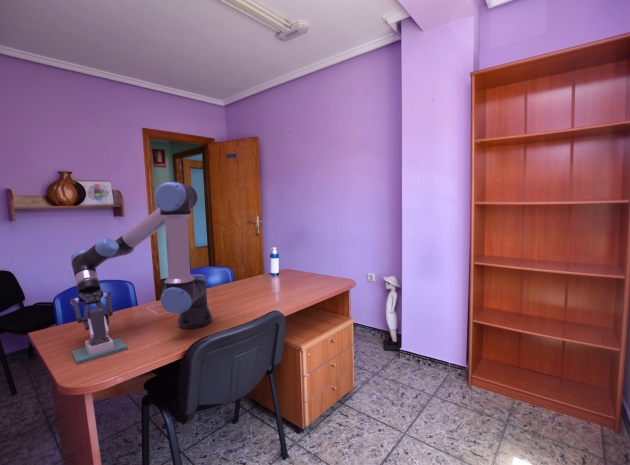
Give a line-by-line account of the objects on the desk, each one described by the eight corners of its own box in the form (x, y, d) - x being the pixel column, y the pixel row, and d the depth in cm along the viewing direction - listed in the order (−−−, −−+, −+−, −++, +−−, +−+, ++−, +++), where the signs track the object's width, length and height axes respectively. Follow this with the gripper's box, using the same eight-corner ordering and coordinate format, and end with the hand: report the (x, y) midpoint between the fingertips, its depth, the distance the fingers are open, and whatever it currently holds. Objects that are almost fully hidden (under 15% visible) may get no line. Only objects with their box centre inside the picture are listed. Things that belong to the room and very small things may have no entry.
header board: (119, 340, 131) (119, 330, 131) (127, 349, 123) (126, 338, 122) (72, 354, 120) (70, 343, 120) (76, 364, 112) (75, 353, 111)
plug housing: (103, 337, 125) (100, 307, 123) (106, 341, 121) (103, 310, 120) (90, 340, 122) (88, 310, 121) (93, 344, 118) (90, 313, 117)
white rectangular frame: (158, 314, 162) (146, 307, 175) (158, 315, 162) (146, 308, 175) (178, 309, 170) (166, 302, 183) (179, 310, 170) (166, 303, 183)
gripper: (111, 285, 137) (124, 332, 126) (61, 293, 125) (70, 346, 114) (113, 274, 132) (126, 322, 122) (61, 282, 121) (71, 336, 110)
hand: (99, 334), depth 118 cm, fingers closed on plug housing, 4 cm apart
